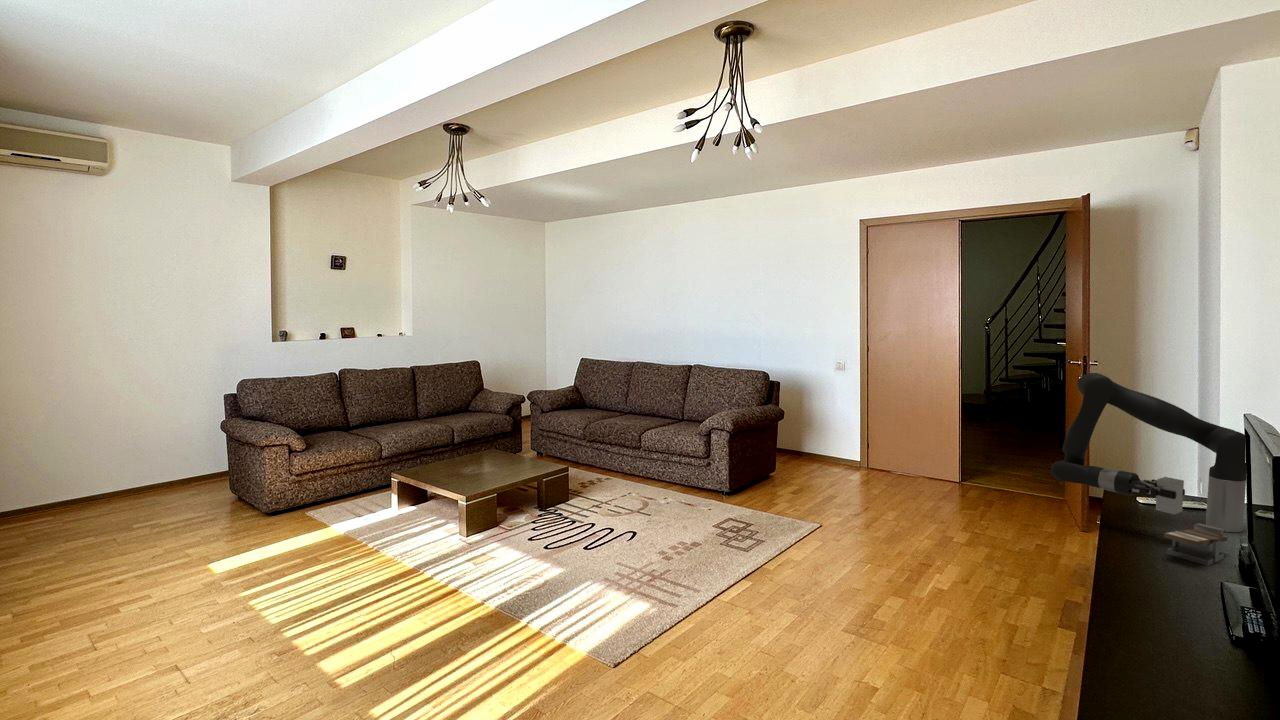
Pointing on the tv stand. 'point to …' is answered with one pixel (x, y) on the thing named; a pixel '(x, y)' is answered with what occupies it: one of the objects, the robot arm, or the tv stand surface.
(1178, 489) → the weight block
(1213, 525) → the robot arm
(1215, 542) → the pivot stand
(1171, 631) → the tv stand surface
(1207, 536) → the balance beam
